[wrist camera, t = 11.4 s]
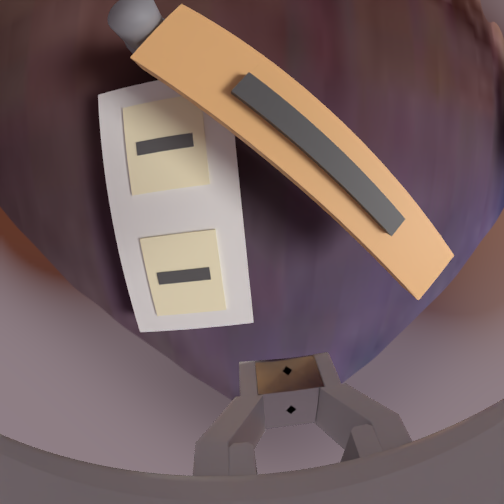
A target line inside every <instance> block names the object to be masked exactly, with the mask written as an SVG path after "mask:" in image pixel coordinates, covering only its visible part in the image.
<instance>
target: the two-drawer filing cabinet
mask: <svg viewBox="0 0 504 504" xmlns="http://www.w3.org/2000/svg"><path fill="white" fill-rule="evenodd" d="M162 19H163V18H162ZM164 20H165V19H163V21H164ZM125 44H126V43H125ZM126 47H127V48H128V49H129V50H130V51H131V52H132V53H133V54H134V52H135V51H136V50H134V49H132V48H130V47H129V46H128V45H127V44H126ZM98 106H99V122H100V134H101V145H102V154H103V163H104V171H105V178H106V185H107V192H108V198H109V204H110V210H111V216H112V221H113V227H114V232H115V237H116V241H117V246H118V251H119V255H120V260H121V264H122V268H123V272H124V276H125V280H126V284H127V288H128V292H129V295H130V299H131V303H132V306H133V310H134V313H135V317H136V320H137V323H138V327H139V330H140V332H153V331H169V330H183V329H195V328H207V327H218V326H228V325H237V324H246V323H254V321H253V312H252V302H251V293H250V283H249V274H248V264H247V254H246V244H245V235H244V225H243V215H242V205H241V195H240V185H239V174H238V164H237V154H236V144H235V135H234V134H233V133H231V132H230V131H229V130H227V129H226V128H225V127H224V126H222V125H221V124H220V123H218V122H217V121H216V120H214V119H213V118H212V117H210V116H209V115H208V114H206V113H205V112H204V111H202V110H201V109H199V108H198V107H197V106H195V105H194V104H193V103H191V102H190V101H188V100H187V99H186V98H184V97H183V96H181V95H180V94H178V93H177V92H176V91H174V90H173V89H171V88H170V87H168V86H167V85H165V84H164V83H162V82H161V81H159V80H157V81H152V82H147V83H142V84H138V85H134V86H129V87H125V88H121V89H117V90H114V91H110V92H106V93H103V94H99V95H98Z"/></svg>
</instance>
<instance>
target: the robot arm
mask: <svg viewBox="0 0 504 504" xmlns="http://www.w3.org/2000/svg"><path fill="white" fill-rule="evenodd" d="M239 381H240V397H235V398H234V399H233V401H232V402H231V403H230V404H229V405H228V406H227V408H226V409H225V410H224V411H223V412H222V413H221V415H220V416H219V417H218V418H217V419H216V420H215V422H214V423H213V424H212V425H211V426H210V427H209V428H208V430H207V431H206V432H205V433H204V434H203V435H202V436H201V437H200V439H199V440H198V441H197V442H196V445H195V456H194V468H193V476H182V475H168V474H156V473H146V472H139V471H131V470H124V469H118V468H113V467H107V466H102V465H97V464H92V463H88V462H84V461H79V460H75V459H71V458H68V457H64V456H60V455H57V454H53V453H50V452H47V451H44V450H41V449H38V448H35V447H32V446H29V445H26V444H24V443H21V442H18V441H16V440H13V439H10V438H8V437H5V436H3V435H1V434H0V504H504V399H502V400H500V401H499V402H497V403H495V404H494V405H492V406H490V407H488V408H486V409H485V410H483V411H481V412H479V413H477V414H475V415H473V416H471V417H469V418H467V419H465V420H463V421H461V422H458V423H456V424H454V425H452V426H450V427H447V428H445V429H443V430H441V431H438V432H436V433H434V434H431V435H428V436H426V437H423V438H421V439H418V440H415V441H413V442H412V440H411V438H410V436H409V434H408V432H407V430H406V428H405V426H404V424H403V422H402V420H401V418H400V416H399V414H397V413H395V412H393V411H392V410H390V409H388V408H387V407H385V406H383V405H381V404H380V403H378V402H376V401H374V400H372V399H371V398H369V397H368V396H366V395H364V394H363V393H361V392H359V391H357V390H356V389H354V388H352V387H351V386H349V385H348V384H346V383H345V384H341V382H340V379H339V377H338V375H337V372H336V370H335V367H334V365H333V363H332V360H331V358H330V355H329V354H328V353H327V352H326V353H320V354H313V355H308V356H301V357H293V358H285V359H273V360H259V361H247V362H240V363H239ZM309 423H316V425H318V426H319V427H320V428H321V429H322V430H323V431H324V432H325V433H326V434H327V435H329V436H330V437H331V438H332V439H333V440H334V441H335V442H336V443H338V444H339V445H340V446H341V447H342V448H343V449H345V451H344V454H343V456H342V459H341V462H340V463H336V464H330V465H326V466H320V467H314V468H308V469H302V470H296V471H288V472H280V473H270V474H259V475H257V467H256V460H255V451H254V449H255V447H256V446H257V444H258V442H259V441H260V439H261V437H262V435H263V434H264V432H265V429H270V428H278V427H285V426H290V425H291V426H293V425H301V424H309Z"/></svg>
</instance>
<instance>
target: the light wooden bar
mask: <svg viewBox="0 0 504 504" xmlns="http://www.w3.org/2000/svg"><path fill="white" fill-rule="evenodd" d="M108 24H109V26H110V27H111V28H112V29H113V30H114V31H115V32H116V34H117V35H118V36H119V37H120V38H121V39H122V40H123V41H124V42H125V43H126V44H127V45H128V46H129V47H130V48H132V49H134V50H136V51H135V52H134V54H133V55H132V56H131V57H130V58H131V59H132V60H133V61H134V62H135V63H136V64H137V65H138V66H139V67H141V68H142V69H143V70H144V71H146V72H147V73H149V74H150V75H152V76H154V77H155V78H157V79H158V80H159V81H161V82H162V83H164V84H165V85H167V86H168V87H170V88H171V89H173V90H174V91H176V92H177V93H178V94H180V95H181V96H183V97H184V98H186V99H187V100H188V101H190V102H191V103H193V104H194V105H195V106H197V107H198V108H199V109H201V110H202V111H204V112H205V113H206V114H208V115H209V116H210V117H212V118H213V119H214V120H216V121H217V122H218V123H220V124H221V125H222V126H224V127H225V128H226V129H227V130H229V131H230V132H231V133H233V134H234V135H235V136H237V137H238V138H239V139H240V140H242V141H243V142H244V143H245V144H247V145H248V146H249V147H250V148H252V149H253V150H254V151H255V152H257V153H258V154H259V155H260V156H262V157H263V158H264V159H265V160H266V161H268V162H269V163H270V164H271V165H273V166H274V167H275V168H276V169H277V170H279V171H280V172H281V173H282V174H283V175H284V176H286V177H287V178H288V179H289V180H290V181H292V182H293V183H294V184H295V185H296V186H297V187H299V188H300V189H301V190H302V191H303V192H304V193H305V194H307V195H308V196H309V197H310V198H311V199H312V200H313V201H314V202H316V203H317V204H318V205H319V206H320V207H321V208H322V209H323V210H324V211H325V212H327V213H328V214H329V215H330V216H331V217H332V218H333V219H334V220H335V221H336V222H337V223H338V224H340V225H341V226H342V227H343V228H344V229H345V230H346V231H347V232H348V233H349V234H350V235H351V236H352V237H353V238H354V239H355V240H356V241H357V242H358V243H360V244H361V245H362V246H363V247H364V248H365V249H366V250H367V251H368V252H369V253H370V254H371V255H372V256H373V257H374V258H375V259H376V260H377V261H378V262H379V263H380V264H381V265H382V266H383V267H384V268H385V269H386V270H387V271H388V272H389V273H390V274H391V275H392V276H393V278H394V279H395V280H396V281H397V282H398V283H399V284H400V285H401V286H402V287H403V288H405V289H406V290H407V291H408V292H409V293H410V294H412V295H413V296H414V297H415V298H416V299H417V300H419V299H420V298H421V297H422V296H423V294H424V293H425V292H426V291H427V290H428V288H429V287H430V286H431V285H432V283H433V282H434V281H435V280H436V278H437V277H438V276H439V275H440V273H441V272H442V271H443V269H444V268H445V267H446V266H447V264H448V263H449V262H450V260H451V259H452V258H453V256H454V255H453V253H452V252H451V250H450V249H449V247H448V246H447V244H446V243H445V241H444V240H443V238H442V237H441V236H440V234H439V233H438V231H437V230H436V229H435V227H434V226H433V225H432V223H431V222H430V221H429V219H428V218H427V217H426V215H425V214H424V213H423V211H422V210H421V209H420V207H419V206H418V205H417V204H416V202H415V201H414V200H413V199H412V197H411V196H410V195H409V194H408V192H407V191H406V190H405V189H404V188H403V186H402V185H401V184H400V183H399V182H398V180H397V179H396V178H395V177H394V176H393V175H392V174H391V172H390V171H389V170H388V169H387V168H386V167H385V166H384V164H383V163H382V162H381V161H380V160H379V159H378V158H377V157H376V156H375V155H374V154H373V153H372V151H371V150H370V149H369V148H368V147H367V146H366V145H365V144H364V143H363V142H362V141H361V140H360V139H359V138H358V137H357V136H356V135H355V134H354V133H353V132H352V131H351V130H350V129H349V128H348V127H347V126H346V125H345V124H344V123H343V122H342V121H341V120H340V119H339V118H338V117H336V116H335V115H334V114H333V113H332V112H331V111H330V110H329V109H328V108H327V107H326V106H325V105H323V104H322V103H321V102H320V101H319V100H318V99H317V98H316V97H314V96H313V95H312V94H311V93H310V92H309V91H307V90H306V89H305V88H304V87H303V86H302V85H300V84H299V83H298V82H297V81H295V80H294V79H293V78H292V77H291V76H289V75H288V74H287V73H286V72H284V71H283V70H282V69H280V68H279V67H278V66H277V65H275V64H274V63H273V62H271V61H270V60H269V59H267V58H266V57H265V56H263V55H262V54H260V53H259V52H258V51H256V50H255V49H254V48H252V47H251V46H249V45H248V44H246V43H245V42H243V41H242V40H241V39H239V38H238V37H236V36H235V35H233V34H231V33H230V32H228V31H227V30H225V29H224V28H222V27H221V26H219V25H217V24H216V23H214V22H212V21H211V20H209V19H207V18H206V17H204V16H202V15H201V14H199V13H197V12H195V11H194V10H192V9H190V8H188V7H186V6H185V5H183V4H181V5H180V6H179V7H178V8H177V9H176V10H174V11H173V12H172V13H171V14H170V15H169V16H168V17H167V18H166V19H165V20H164V21H163V19H162V16H161V14H160V12H159V10H158V9H157V7H156V5H155V3H154V1H153V0H119V1H118V2H117V3H116V4H115V5H114V6H113V7H112V9H111V10H110V12H109V15H108Z"/></svg>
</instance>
